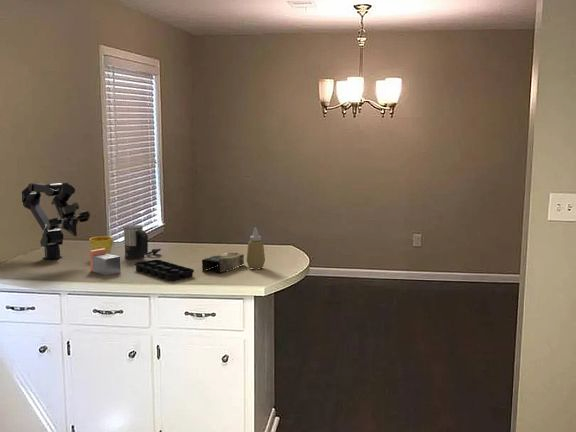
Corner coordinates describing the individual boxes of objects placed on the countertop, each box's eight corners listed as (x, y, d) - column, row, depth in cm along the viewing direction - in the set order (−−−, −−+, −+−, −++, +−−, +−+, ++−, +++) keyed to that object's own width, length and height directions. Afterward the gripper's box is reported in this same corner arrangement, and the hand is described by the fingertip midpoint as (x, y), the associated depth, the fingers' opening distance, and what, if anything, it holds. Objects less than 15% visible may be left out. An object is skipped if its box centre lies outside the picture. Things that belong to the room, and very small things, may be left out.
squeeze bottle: (267, 267, 298) (267, 226, 296) (261, 271, 291) (260, 230, 288) (250, 266, 301) (250, 226, 298) (243, 269, 293) (243, 229, 291)
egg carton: (153, 266, 303) (153, 258, 302) (204, 275, 286) (204, 266, 285) (123, 274, 289) (123, 265, 288) (174, 283, 272) (174, 274, 271)
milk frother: (120, 258, 318) (118, 227, 315) (140, 252, 332) (139, 222, 330) (145, 261, 312) (144, 229, 310) (164, 254, 326) (163, 224, 324)
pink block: (90, 270, 292) (89, 250, 290) (104, 267, 297) (103, 248, 296) (104, 274, 285) (103, 254, 284) (118, 271, 290) (117, 251, 289)
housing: (93, 271, 291) (92, 256, 289) (107, 269, 296) (106, 253, 295) (106, 275, 284) (105, 259, 283) (120, 272, 289) (120, 256, 288)
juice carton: (227, 263, 308) (227, 250, 307) (246, 265, 303) (245, 252, 302) (201, 272, 290) (201, 258, 289) (220, 275, 286) (219, 261, 285)
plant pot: (107, 261, 311) (106, 240, 309) (86, 260, 313) (85, 239, 312) (117, 256, 321) (116, 236, 319) (97, 256, 323) (96, 235, 322)
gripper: (44, 202, 295) (58, 232, 291) (85, 193, 306) (99, 222, 302) (41, 215, 304) (54, 244, 299) (81, 206, 315) (94, 234, 310)
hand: (75, 236), depth 302 cm, fingers closed
